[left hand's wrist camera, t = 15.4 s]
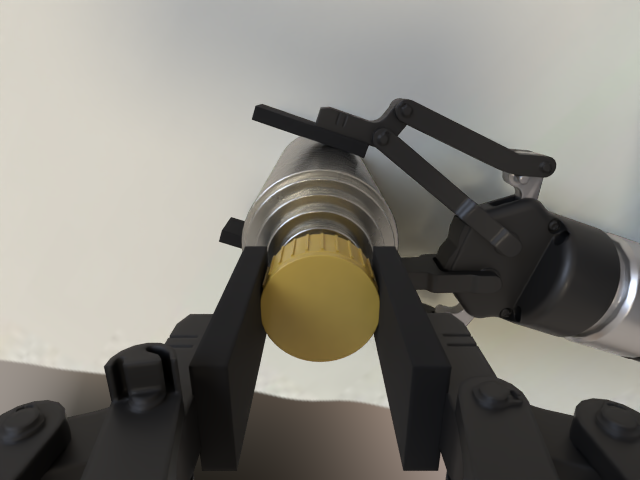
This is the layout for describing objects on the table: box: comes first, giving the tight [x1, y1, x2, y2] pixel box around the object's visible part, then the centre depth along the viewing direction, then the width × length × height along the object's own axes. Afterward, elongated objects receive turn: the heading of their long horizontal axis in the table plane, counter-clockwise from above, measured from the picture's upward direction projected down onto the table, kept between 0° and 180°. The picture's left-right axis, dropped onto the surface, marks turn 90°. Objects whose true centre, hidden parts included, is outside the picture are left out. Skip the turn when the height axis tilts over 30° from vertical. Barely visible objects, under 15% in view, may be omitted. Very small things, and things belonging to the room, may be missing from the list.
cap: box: [261, 233, 380, 362], centre depth 14 cm, size 4×4×2 cm
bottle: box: [242, 136, 399, 267], centre depth 22 cm, size 7×7×20 cm
